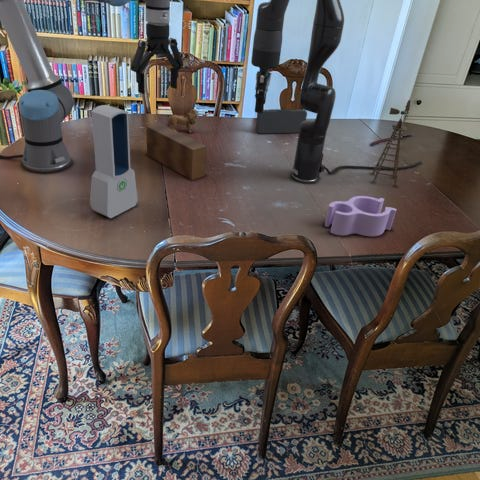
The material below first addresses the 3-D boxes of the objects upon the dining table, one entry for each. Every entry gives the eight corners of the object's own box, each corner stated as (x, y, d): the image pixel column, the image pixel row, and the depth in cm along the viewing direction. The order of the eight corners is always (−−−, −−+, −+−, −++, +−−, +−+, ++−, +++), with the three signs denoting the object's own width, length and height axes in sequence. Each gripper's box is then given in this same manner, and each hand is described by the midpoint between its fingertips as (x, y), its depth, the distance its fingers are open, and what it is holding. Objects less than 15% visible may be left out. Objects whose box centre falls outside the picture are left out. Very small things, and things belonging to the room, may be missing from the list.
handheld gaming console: (301, 130, 212) (305, 108, 207) (304, 132, 210) (308, 110, 205) (254, 131, 205) (257, 109, 200) (256, 134, 203) (259, 111, 197)
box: (146, 154, 174) (146, 126, 168) (160, 151, 178) (160, 123, 172) (191, 180, 159) (192, 149, 153) (205, 175, 163) (206, 146, 157)
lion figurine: (196, 128, 202) (197, 107, 197) (199, 132, 198) (200, 111, 193) (162, 129, 197) (162, 108, 192) (165, 133, 193) (165, 112, 188)
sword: (408, 133, 222) (409, 131, 221) (413, 135, 220) (414, 133, 219) (365, 145, 206) (365, 142, 205) (370, 147, 204) (371, 145, 203)
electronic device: (108, 220, 133) (101, 117, 116) (89, 211, 136) (79, 109, 119) (138, 204, 142) (135, 106, 125) (120, 196, 145) (115, 100, 129)
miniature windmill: (395, 186, 170) (420, 105, 154) (372, 182, 171) (394, 101, 155) (394, 176, 177) (417, 97, 161) (371, 173, 178) (392, 94, 162)
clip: (337, 240, 135) (342, 219, 131) (318, 218, 145) (322, 198, 141) (395, 233, 141) (402, 213, 137) (373, 213, 151) (378, 194, 147)
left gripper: (131, 27, 140) (133, 98, 151) (195, 24, 155) (192, 88, 167) (117, 22, 144) (120, 92, 155) (180, 20, 160) (179, 83, 171)
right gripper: (279, 54, 117) (271, 117, 126) (282, 44, 129) (274, 102, 138) (250, 50, 117) (243, 113, 126) (255, 40, 129) (249, 99, 138)
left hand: (157, 90), depth 161 cm, fingers open, 13 cm apart
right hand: (260, 107), depth 132 cm, fingers open, 8 cm apart
